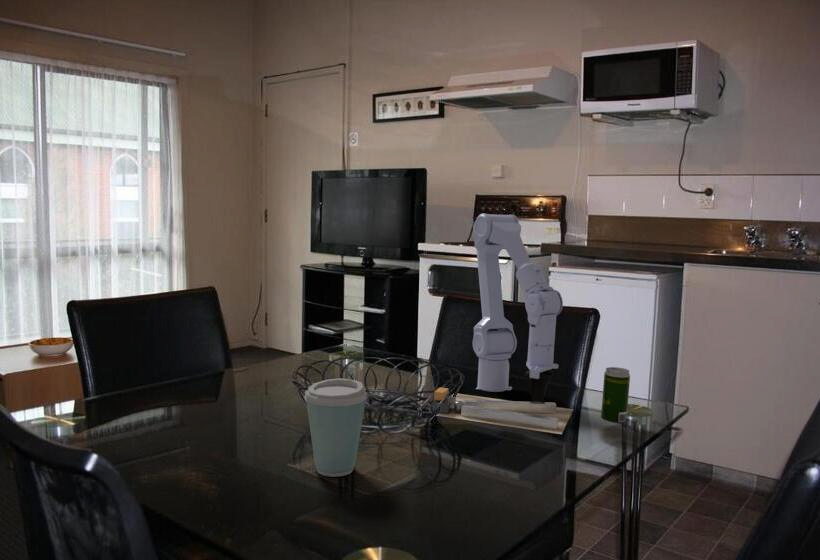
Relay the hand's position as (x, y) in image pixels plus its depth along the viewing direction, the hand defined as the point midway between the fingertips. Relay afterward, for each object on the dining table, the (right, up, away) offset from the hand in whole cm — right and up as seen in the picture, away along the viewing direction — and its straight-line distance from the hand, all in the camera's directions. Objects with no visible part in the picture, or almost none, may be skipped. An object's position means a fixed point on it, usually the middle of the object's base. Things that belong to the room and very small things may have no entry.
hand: (537, 402), depth 161 cm
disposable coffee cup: (-42, -5, -39) cm, 58 cm away
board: (-8, -2, -5) cm, 10 cm away
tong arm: (-8, -1, -5) cm, 10 cm away
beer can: (+16, -4, -6) cm, 17 cm away
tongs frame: (-11, -2, -9) cm, 14 cm away
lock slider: (-22, +2, -5) cm, 23 cm away
